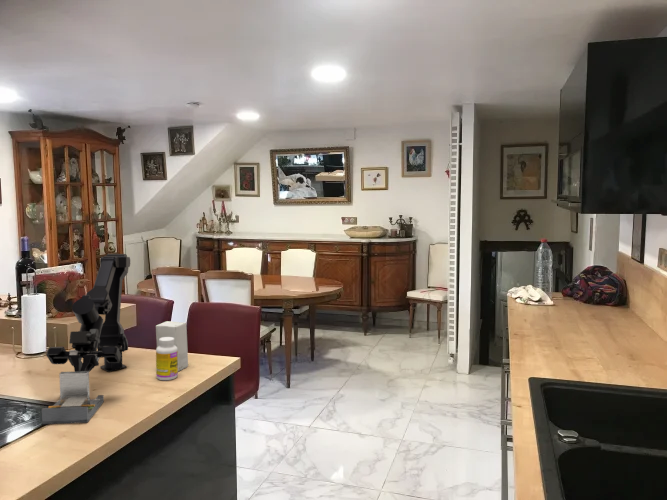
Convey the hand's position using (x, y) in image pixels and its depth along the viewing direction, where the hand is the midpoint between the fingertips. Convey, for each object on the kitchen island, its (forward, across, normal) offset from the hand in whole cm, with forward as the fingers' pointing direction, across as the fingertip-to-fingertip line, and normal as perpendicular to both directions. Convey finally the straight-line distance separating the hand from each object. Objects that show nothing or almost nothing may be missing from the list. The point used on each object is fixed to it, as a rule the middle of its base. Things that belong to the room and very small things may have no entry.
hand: (77, 382), depth 145 cm
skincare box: (-18, +20, +28) cm, 38 cm away
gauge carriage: (+7, 0, +2) cm, 7 cm away
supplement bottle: (-11, +20, +21) cm, 31 cm away
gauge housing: (+8, 0, +2) cm, 8 cm away
